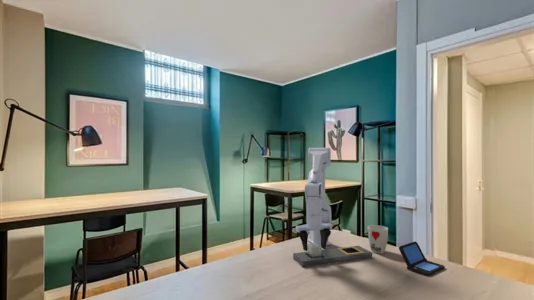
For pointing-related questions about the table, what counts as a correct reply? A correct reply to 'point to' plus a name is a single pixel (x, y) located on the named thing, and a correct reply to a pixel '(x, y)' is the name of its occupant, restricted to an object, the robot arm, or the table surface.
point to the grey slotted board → (333, 256)
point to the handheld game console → (418, 260)
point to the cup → (377, 238)
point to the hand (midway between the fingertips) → (314, 249)
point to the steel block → (313, 250)
